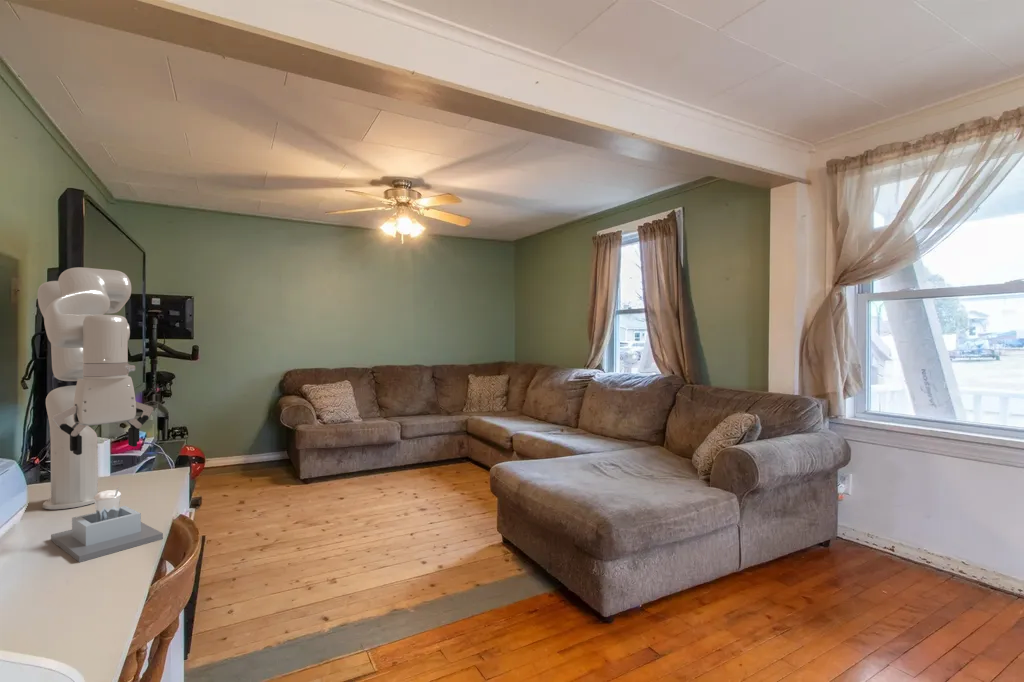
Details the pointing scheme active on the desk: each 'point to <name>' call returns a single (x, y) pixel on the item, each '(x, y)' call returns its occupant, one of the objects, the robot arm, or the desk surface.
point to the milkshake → (107, 504)
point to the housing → (105, 535)
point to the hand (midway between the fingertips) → (106, 449)
